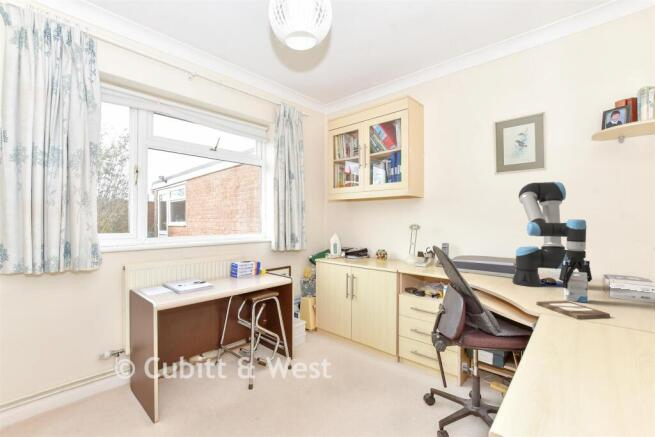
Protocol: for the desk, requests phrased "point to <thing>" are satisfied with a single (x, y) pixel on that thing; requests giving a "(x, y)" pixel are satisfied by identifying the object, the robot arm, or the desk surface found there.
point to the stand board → (573, 309)
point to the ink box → (578, 288)
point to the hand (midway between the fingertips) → (575, 294)
